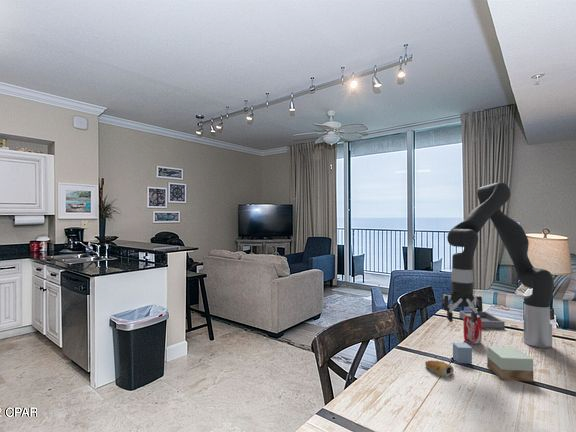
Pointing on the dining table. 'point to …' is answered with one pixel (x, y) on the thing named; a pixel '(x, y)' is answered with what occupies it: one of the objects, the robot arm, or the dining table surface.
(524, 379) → the tower base
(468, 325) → the soda can
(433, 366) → the pastry
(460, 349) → the block
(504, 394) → the dining table surface
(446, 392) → the dining table surface
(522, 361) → the tower top
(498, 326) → the tray
